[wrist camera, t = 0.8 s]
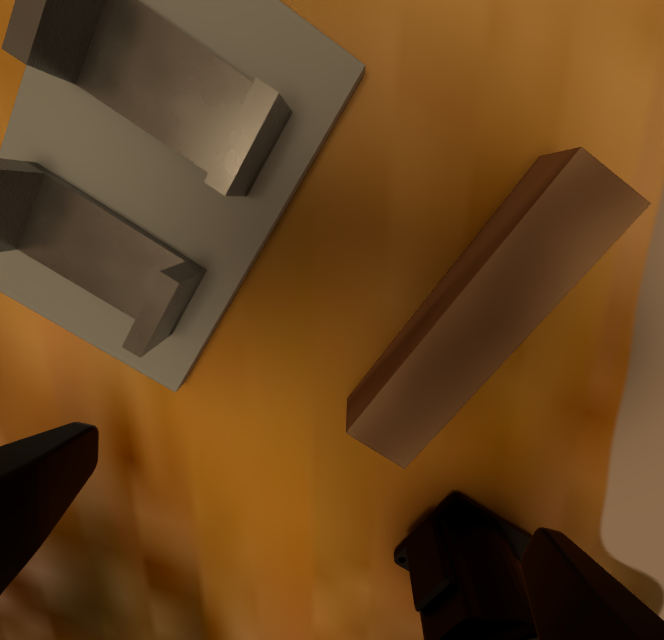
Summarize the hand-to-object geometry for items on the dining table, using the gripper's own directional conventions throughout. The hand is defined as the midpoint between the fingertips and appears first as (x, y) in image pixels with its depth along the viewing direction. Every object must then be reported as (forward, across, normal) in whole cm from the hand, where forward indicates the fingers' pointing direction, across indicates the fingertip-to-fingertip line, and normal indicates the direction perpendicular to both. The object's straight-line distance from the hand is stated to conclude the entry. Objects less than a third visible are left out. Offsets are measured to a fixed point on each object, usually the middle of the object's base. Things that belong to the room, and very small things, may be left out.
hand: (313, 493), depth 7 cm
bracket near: (+11, +9, -8) cm, 16 cm away
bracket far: (+11, +12, -1) cm, 16 cm away
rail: (+13, -6, -2) cm, 14 cm away
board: (+12, +10, -5) cm, 17 cm away
